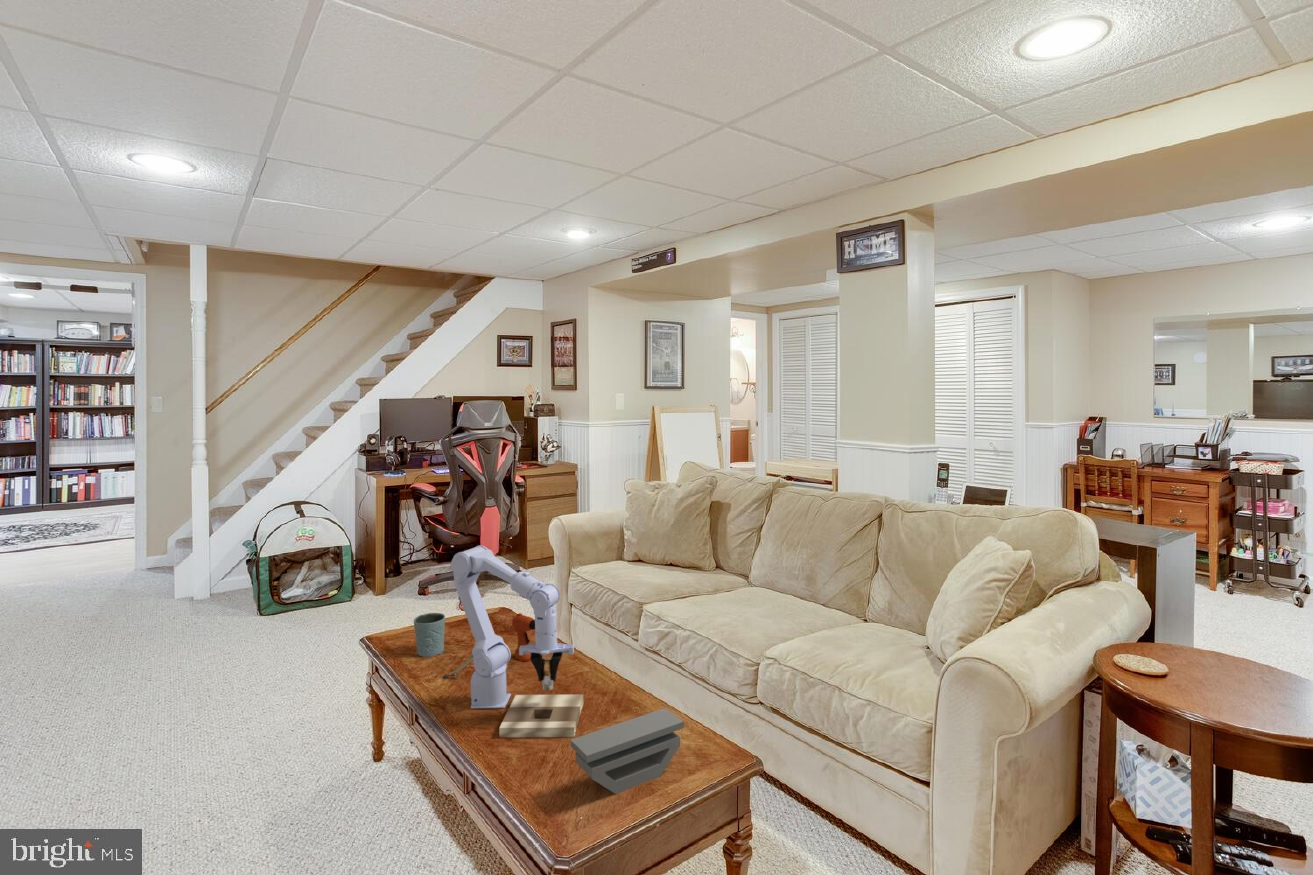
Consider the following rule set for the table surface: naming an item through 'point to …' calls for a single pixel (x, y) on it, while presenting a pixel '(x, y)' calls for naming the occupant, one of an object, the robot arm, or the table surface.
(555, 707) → the board
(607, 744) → the grey tapered block
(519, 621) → the toy drill
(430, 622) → the teal cup
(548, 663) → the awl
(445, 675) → the tomahawk
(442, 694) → the table surface
